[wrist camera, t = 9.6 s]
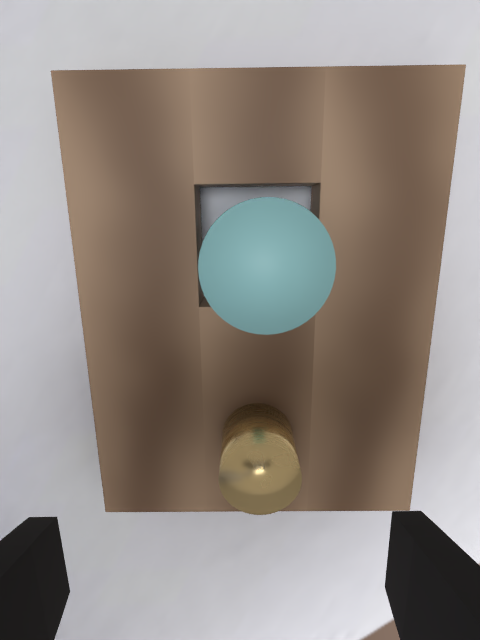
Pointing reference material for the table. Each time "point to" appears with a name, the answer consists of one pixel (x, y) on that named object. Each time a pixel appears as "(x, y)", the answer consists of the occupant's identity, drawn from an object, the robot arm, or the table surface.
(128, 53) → the table surface
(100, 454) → the pin board
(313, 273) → the teal pin
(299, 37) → the table surface
